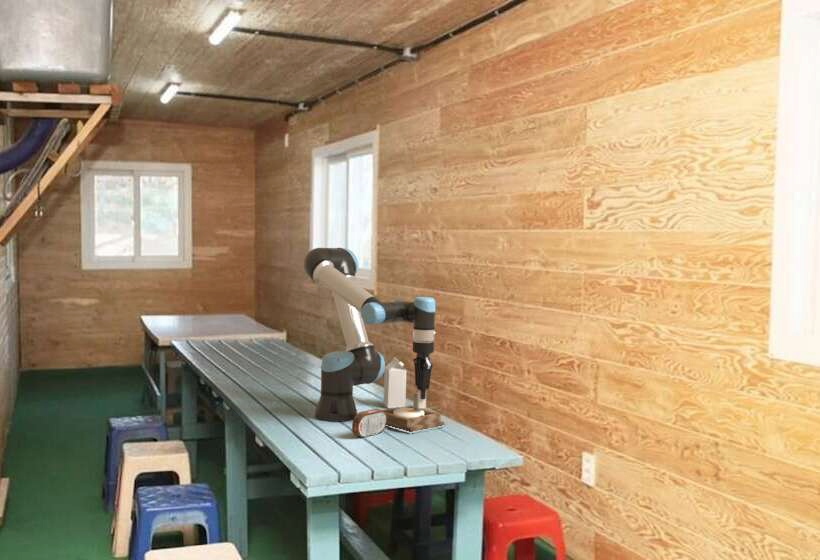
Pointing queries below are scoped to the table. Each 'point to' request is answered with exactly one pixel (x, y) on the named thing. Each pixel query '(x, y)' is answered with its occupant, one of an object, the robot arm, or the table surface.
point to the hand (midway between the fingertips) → (421, 407)
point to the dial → (410, 410)
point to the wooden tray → (413, 420)
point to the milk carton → (394, 384)
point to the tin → (369, 422)
